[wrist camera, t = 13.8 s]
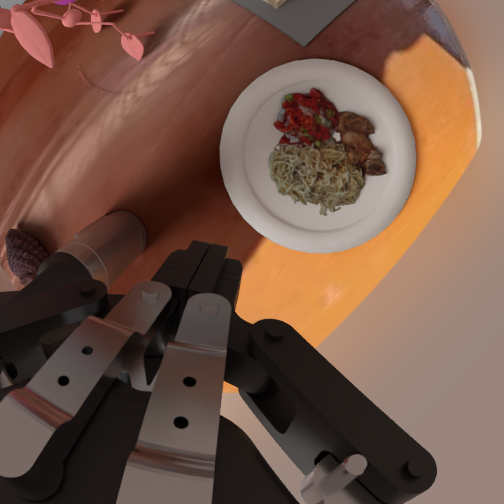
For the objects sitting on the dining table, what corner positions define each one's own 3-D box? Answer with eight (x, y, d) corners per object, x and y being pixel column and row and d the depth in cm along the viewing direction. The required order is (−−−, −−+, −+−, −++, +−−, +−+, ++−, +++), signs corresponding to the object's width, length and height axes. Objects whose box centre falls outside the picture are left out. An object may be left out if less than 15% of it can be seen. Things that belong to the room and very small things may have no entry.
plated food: (324, 281, 50) (327, 291, 47) (184, 169, 44) (177, 173, 41) (442, 158, 38) (452, 161, 35) (307, 25, 32) (309, 18, 29)
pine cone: (12, 245, 54) (-12, 239, 44) (34, 218, 55) (10, 208, 45) (43, 301, 53) (18, 302, 43) (67, 273, 55) (43, 270, 45)
